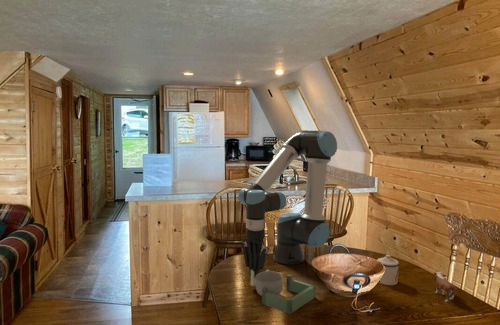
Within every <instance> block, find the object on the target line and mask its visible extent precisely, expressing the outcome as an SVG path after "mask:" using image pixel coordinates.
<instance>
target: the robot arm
mask: <svg viewBox="0 0 500 325" xmlns="http://www.w3.org/2000/svg"><path fill="white" fill-rule="evenodd" d="M337 150H338V141H337V138H336V136H335V135H334V133H332V131H331V132H330V131H328V130H327V131H326V130H300V131H297V132H295V133H294V134H293V135H291V136H290V137H288V138H287V140H285V142H284V143H283V144H282V145H281V146H280V150H279V152H278V153H277V154H276V155H275V156H274V158H273V159H272V160H271V161H270V162H269V164H268V165H267V166H266V167H265V168H264V169H263V171H262V172H261V173H260V174H259V176H258V177H256V179H255V180H254V181H252V184H251V185H250V186H249V187H243V188H241V189H240V191H238V192H239V193H238V201H239V202H240V203H241V204H242V205H245V207H246V210H245V211H246V212H245V216H246V217H245V228H246V229H245V238H246V239H245V241H244V242H242V243H241V247H242V250H243V257H244V262H245V267H248V268H249V277H250V286H251V287H256V279H255V276H256V275H257V274H258V273H260V271H261V270H263V269H264V267H265V262H266V258H267V254H268V252H269V250H270V248H269V247H267V246H265V241H264V238H265V228H266V226H265V222H266V221H265V218H266V213H269V212H276V211H277V212H278V211H280V210H282V209H283V210H284V208H285V207H286V206H287V197H286V195H285V194H284V193H283V192H281V191H275V192H271V191H269V190H270V189H271V188H272V186H273V185H274V184H275V183H276V182H277V180H278V179H279V178H280V177H281V176H282V175H283V173H284V172H285V171H286V169H287V168H288V167H289V165H290V164H292V162H294V161H296V160H297V159H299V157H300V156H302V155H303V156H304V155H305V159H306V161H307V163H308V166H307V175H306V188H305V199H304V210H303V213H302V214H301V213H298V212H289V213H282V214H279V215H278V216H277V223H276V226H277V228H276V230H277V231H276V232H277V234H276V239H277V241H276V246H275V249H274V253H273V261H274V262H276V263H278V264H282V265H298V264H301V263H303V262H304V259H305V255H304V252H303V249H302V246H301V244H302V245H307V246H308V247H314V248H321V247H322V246H324V244H326V242H327V241H328V239H329V236H330V230H331V229H330V227H329V225H328V224H327V223H326V217H325V215H323V211H324V201H325V200H324V198H325V190H326V189H325V188H326V180H327V179H326V177H327V167H328V163H330V162H331V159H332V157H334V156H335V155H336V153H337Z"/></svg>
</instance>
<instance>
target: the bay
mask: <svg viewBox="0 0 500 325" xmlns="http://www.w3.org/2000/svg"><path fill="white" fill-rule="evenodd" d="M286 290H287V291H290V292H292V293H295V295H294V296H292V297H291V298H289V299H288V298H286V297H283V296H280V295H275V294H272V293H269V292H268V288H266V287H264V288H262V296H261V304H262V305H264V306H267V307H269V308H272V309H275V310H276V311H277V310H278V311H280V312H283V313H285V314H288V315H291V314H292V313H294V312H296V311H297V310H298V309H300V308H301V307H303V306H304V305H306V304H307V303H309V302H311V301H312V300H313V299H315V298H316V285H313V284H310V283H307V282H303V281H300V280H297V279H293V275H292V274H287V275H286Z"/></svg>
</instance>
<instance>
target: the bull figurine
mask: <svg viewBox="0 0 500 325" xmlns="http://www.w3.org/2000/svg"><path fill="white" fill-rule="evenodd" d="M433 275H434V276H436V280H435V284H436V289H435V290H436V291H435V292H434V293H435V294H439V290H441V291H442V293H441V294H442V295H443V296H445V298H446V299H445V300H444V302H445V303H447V302H449V301H452V300H454V298H455V290H456V287H455V285H454V284H453V283H451V282H449V280H448V279H446V277H447V275H446V274H443V272H441V271H438V272H437V273H436V272H433Z"/></svg>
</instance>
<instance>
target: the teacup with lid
mask: <svg viewBox="0 0 500 325" xmlns="http://www.w3.org/2000/svg"><path fill="white" fill-rule="evenodd" d="M377 261H379V262H381V263H382V264H383V265H384V266H385V268H386V271H385V273H384V275H383V277H382V279H381V280H380V282H378V284H381V285H384V286H396V285H397V284H398V283H399V282H398V281H399V280H398V278H399V265H400V263H399V260H397V259H395V258H392V257H391V255H390V254H385V256H384V257H378V258H377V260H376V262H377Z"/></svg>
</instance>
